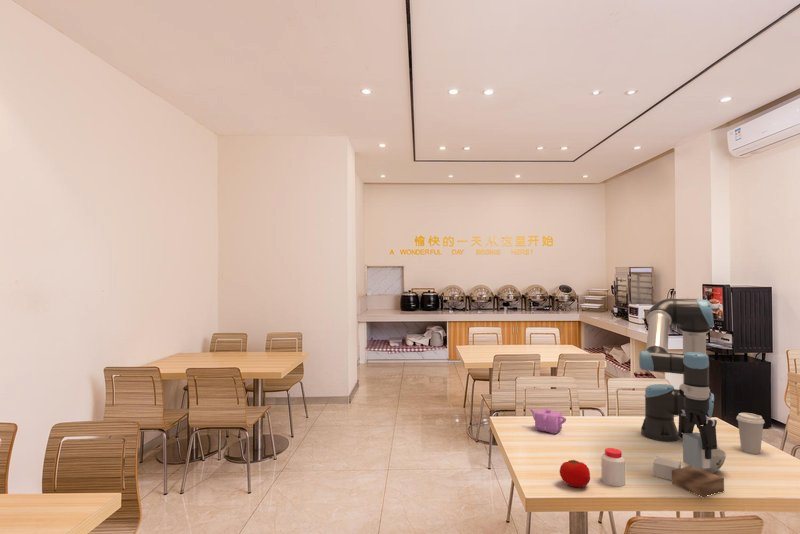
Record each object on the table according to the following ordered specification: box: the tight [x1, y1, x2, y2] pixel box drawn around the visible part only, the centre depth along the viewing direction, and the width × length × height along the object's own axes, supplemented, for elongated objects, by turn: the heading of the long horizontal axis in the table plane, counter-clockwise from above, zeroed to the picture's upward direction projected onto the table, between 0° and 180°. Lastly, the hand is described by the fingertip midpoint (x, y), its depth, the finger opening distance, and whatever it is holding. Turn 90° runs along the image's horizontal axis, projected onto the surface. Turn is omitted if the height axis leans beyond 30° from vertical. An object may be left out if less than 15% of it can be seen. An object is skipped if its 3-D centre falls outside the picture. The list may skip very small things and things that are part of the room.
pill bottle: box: [601, 447, 626, 487], centre depth 164 cm, size 8×8×11 cm
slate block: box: [682, 431, 712, 469], centre depth 160 cm, size 6×6×10 cm
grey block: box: [652, 455, 682, 481], centre depth 170 cm, size 8×8×5 cm
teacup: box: [702, 447, 727, 474], centre depth 175 cm, size 15×12×8 cm
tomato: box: [559, 459, 591, 488], centre depth 161 cm, size 9×10×8 cm
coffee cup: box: [736, 412, 766, 455], centre depth 193 cm, size 10×10×15 cm
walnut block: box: [671, 465, 725, 498], centre depth 159 cm, size 11×11×5 cm
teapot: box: [528, 408, 567, 435], centre depth 219 cm, size 18×14×10 cm
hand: (697, 463), depth 159 cm, fingers closed on slate block, 6 cm apart
